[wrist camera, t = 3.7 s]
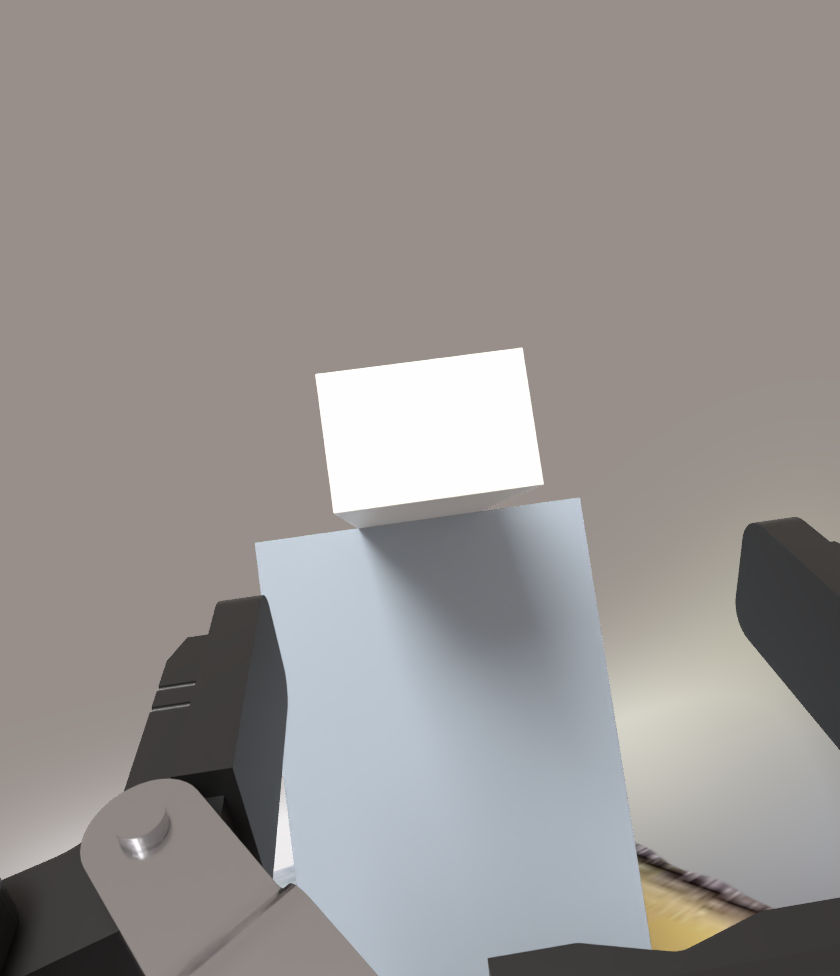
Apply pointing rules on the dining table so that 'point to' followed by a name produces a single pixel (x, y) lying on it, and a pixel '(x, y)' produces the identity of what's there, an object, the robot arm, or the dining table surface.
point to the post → (453, 739)
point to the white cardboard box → (428, 437)
